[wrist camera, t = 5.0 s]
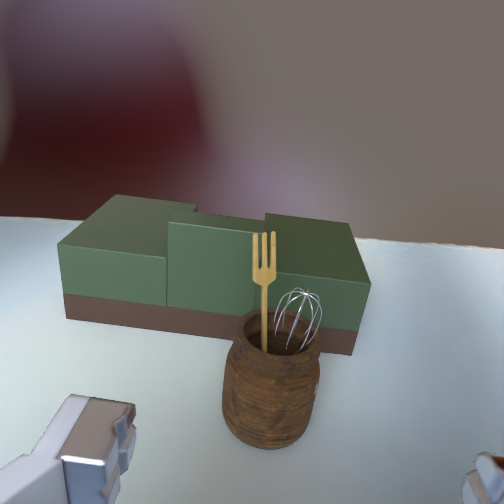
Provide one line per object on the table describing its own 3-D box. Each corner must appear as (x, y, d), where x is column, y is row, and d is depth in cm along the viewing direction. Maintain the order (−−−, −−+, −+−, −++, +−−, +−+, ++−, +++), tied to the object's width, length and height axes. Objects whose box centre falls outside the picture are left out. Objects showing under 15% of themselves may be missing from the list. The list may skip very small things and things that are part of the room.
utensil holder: (242, 468, 23) (267, 295, 18) (206, 389, 28) (218, 236, 23) (326, 437, 26) (370, 277, 20) (279, 370, 31) (305, 227, 25)
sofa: (334, 281, 44) (354, 195, 39) (351, 355, 33) (381, 248, 29) (118, 254, 44) (114, 165, 40) (66, 318, 33) (51, 206, 29)
